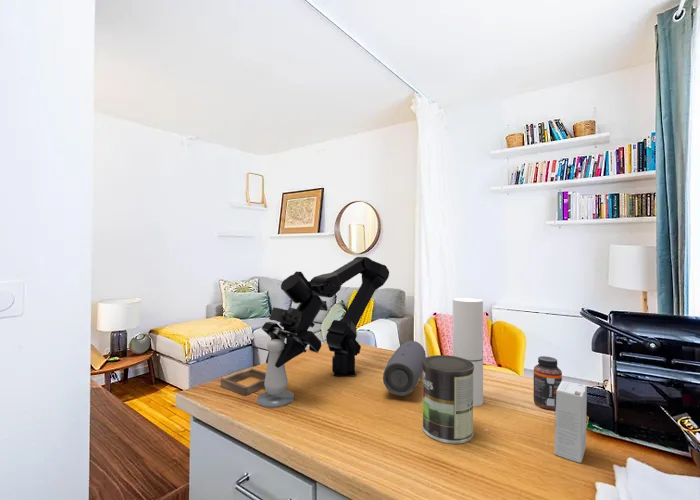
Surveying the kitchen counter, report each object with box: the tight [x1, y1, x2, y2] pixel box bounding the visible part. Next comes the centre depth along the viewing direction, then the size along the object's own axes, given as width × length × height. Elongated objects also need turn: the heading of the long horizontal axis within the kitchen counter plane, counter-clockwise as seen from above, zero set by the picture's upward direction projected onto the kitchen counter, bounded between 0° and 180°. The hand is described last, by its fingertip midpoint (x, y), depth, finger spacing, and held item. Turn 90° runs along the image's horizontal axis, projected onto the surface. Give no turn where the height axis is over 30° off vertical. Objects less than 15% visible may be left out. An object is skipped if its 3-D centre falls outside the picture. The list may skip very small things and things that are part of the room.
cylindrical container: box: [452, 297, 484, 407], centre depth 85 cm, size 7×7×25 cm
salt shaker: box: [264, 339, 289, 395], centre depth 86 cm, size 6×6×13 cm
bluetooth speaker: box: [382, 340, 427, 397], centre depth 95 cm, size 23×9×10 cm, turn 161°
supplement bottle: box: [533, 355, 563, 411], centre depth 82 cm, size 6×6×11 cm
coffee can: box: [422, 354, 474, 445], centre depth 71 cm, size 10×10×14 cm
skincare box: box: [554, 380, 588, 464], centre depth 63 cm, size 6×4×12 cm
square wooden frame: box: [220, 368, 266, 397], centre depth 95 cm, size 11×11×2 cm
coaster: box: [256, 389, 295, 408], centre depth 85 cm, size 9×9×1 cm
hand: (271, 365), depth 85 cm, fingers closed on salt shaker, 3 cm apart
